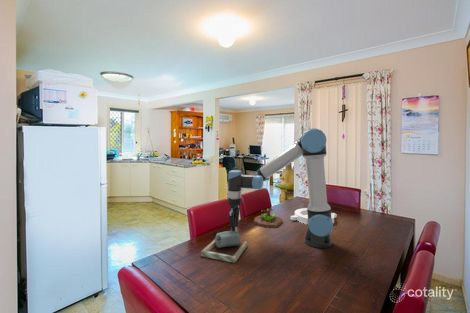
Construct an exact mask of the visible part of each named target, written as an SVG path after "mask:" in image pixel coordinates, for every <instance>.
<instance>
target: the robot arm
mask: <svg viewBox="0 0 470 313" xmlns="http://www.w3.org/2000/svg"><path fill="white" fill-rule="evenodd" d="M326 155H327V136H326V134H325V133H324V132H323V130H321V129H319V128H309V129H307V130H305V131H304V132H303V133H302V135H301V136H300V137H299V139H297V140H296V141H295V143H294V144H293V145H291V146H290V147H288V148H287V149H286V150H284V151H282V152H281V153H280V154H279V155H277V156H276V157H275V158H273V159H271V160H270V161H268V162H267V163H265V164H264V165H263V166H261V167H260V168H258V169H257V170H256V171H254V172H252V173H251V174H243V173H242V172H243V171H241V170H239V169H238V170H237V169H232V170H231V169H230V170H229V171H228V175H227V176H228V177H227V183H228V184H227V188H228V189H227V197H228V198H227V205H229V206H230V208H229V211H228V213H227V214H228V220H229V228H231V230H230V231H236V232H238V228H237V227H239V219H240V210H241V207H240V206H241V205H242V189H250V190H261V189H263V186H264V182H265V181H266V180H267V179H269V178H271V177H272V176H273V175H275V174H277V173H278V172H280V171H281V170H283V169H284V168H286V167H287V166H288V165H290V164H291V163H293V162H295V161H296V160H297V159H299V158H301V157H303V158H304V159H305V161H306V162H305V164H306V165H305V166H306V174H307V175H306V176H307V185H308V200H309V203H308V205H307V207H306V208H307V214H308V225H307V227H306V231H305V234H304V236H303V242H304V243H305V244H306V245H308V246H311V247H313V248H319V249H327V248H330V247H332V242H333V240H332V237H331V233H332V231H333V229H334V223H333V222H332V217H331V213H332V210H331V209H332V207H331V206H330V204H329V203H328V197H327V195H328V194H327V184H326V183H327V182H326V171H325V157H326Z"/></svg>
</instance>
